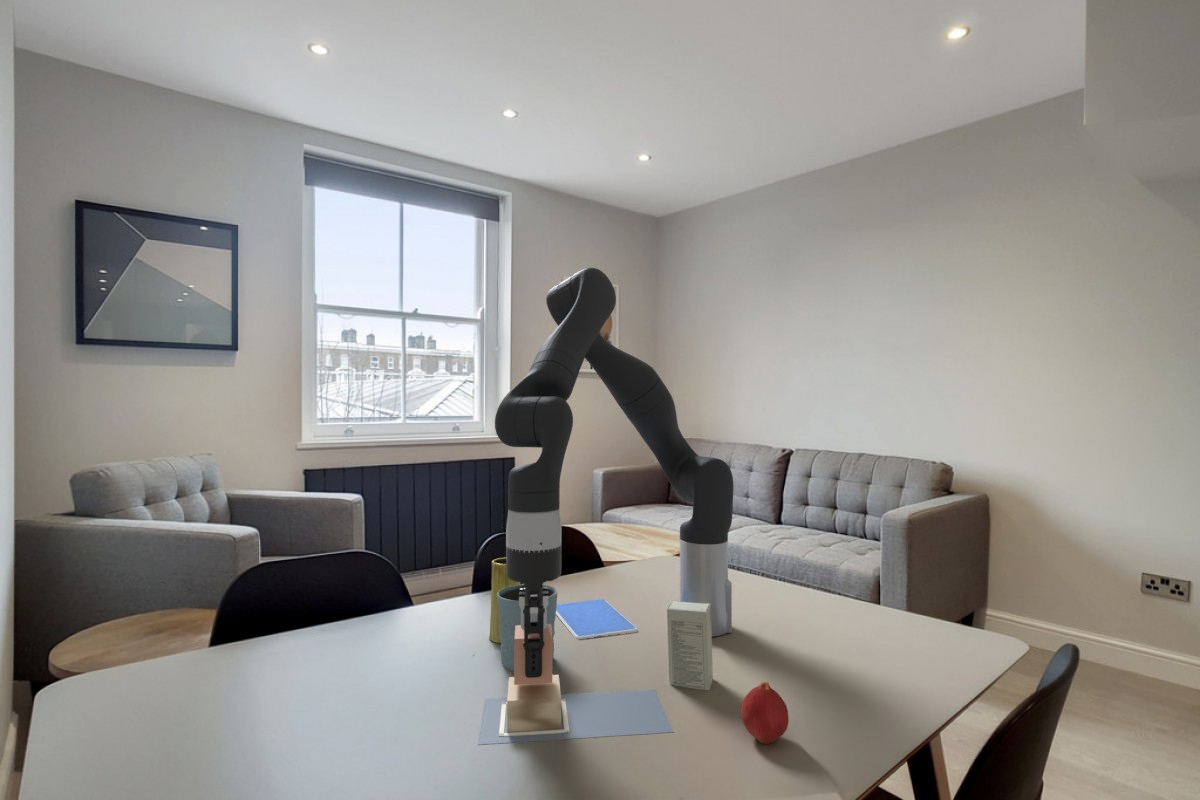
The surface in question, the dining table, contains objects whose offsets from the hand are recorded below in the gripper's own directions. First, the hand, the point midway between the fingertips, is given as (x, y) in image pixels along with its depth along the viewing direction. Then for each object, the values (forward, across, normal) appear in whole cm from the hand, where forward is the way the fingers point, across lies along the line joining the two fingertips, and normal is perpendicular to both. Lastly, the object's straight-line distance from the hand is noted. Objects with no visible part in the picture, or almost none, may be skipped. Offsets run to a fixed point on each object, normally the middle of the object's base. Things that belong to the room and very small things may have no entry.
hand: (533, 666), depth 82 cm
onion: (+7, -9, -29) cm, 31 cm away
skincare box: (+7, +8, -24) cm, 26 cm away
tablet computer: (+8, +39, -12) cm, 42 cm away
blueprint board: (+7, 0, -6) cm, 9 cm away
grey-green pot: (+8, +19, +1) cm, 20 cm away
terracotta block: (+1, 0, 0) cm, 1 cm away
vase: (+8, +31, +5) cm, 32 cm away
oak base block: (+7, 0, 0) cm, 7 cm away
